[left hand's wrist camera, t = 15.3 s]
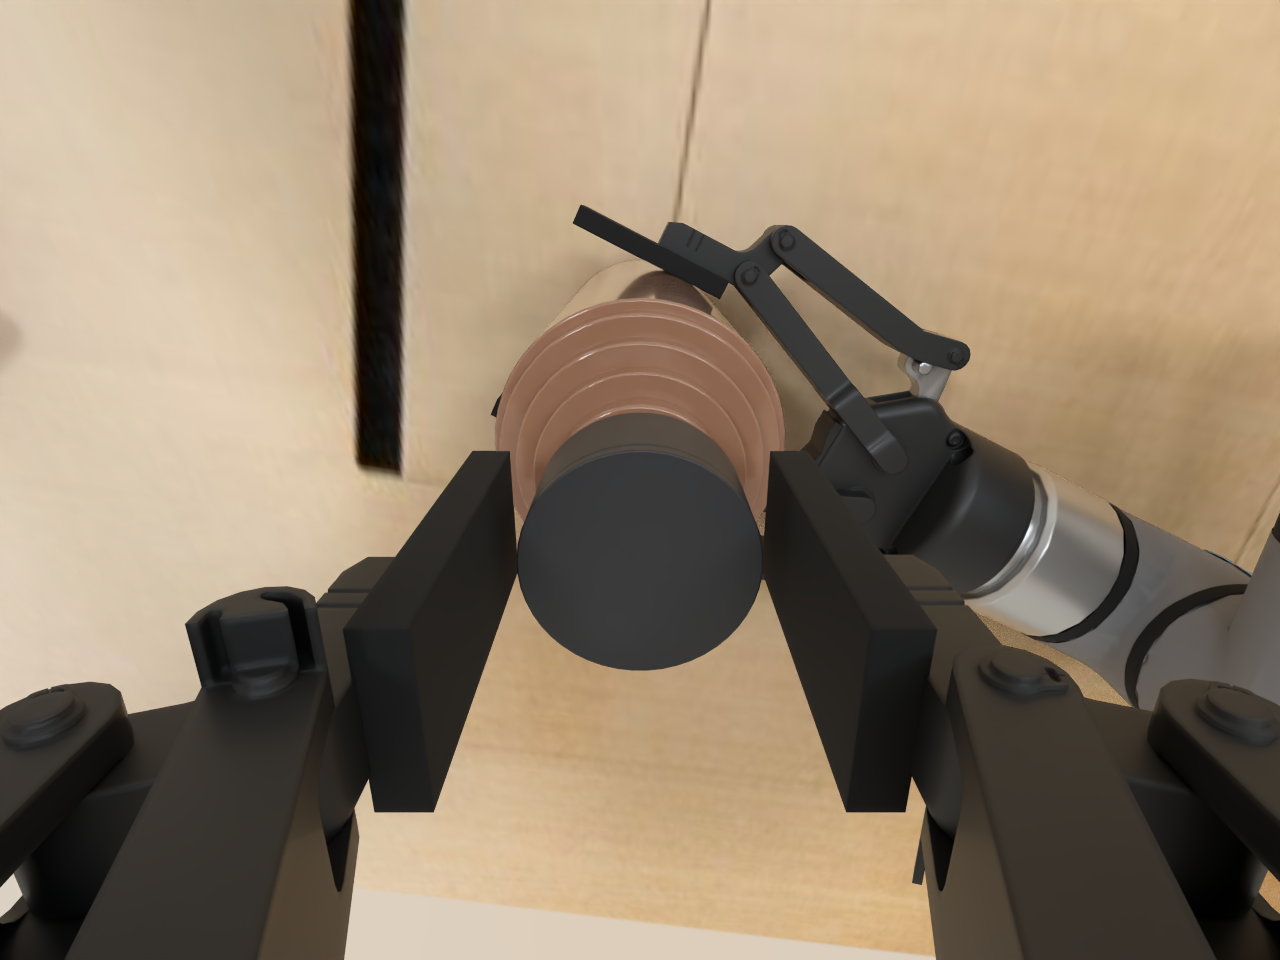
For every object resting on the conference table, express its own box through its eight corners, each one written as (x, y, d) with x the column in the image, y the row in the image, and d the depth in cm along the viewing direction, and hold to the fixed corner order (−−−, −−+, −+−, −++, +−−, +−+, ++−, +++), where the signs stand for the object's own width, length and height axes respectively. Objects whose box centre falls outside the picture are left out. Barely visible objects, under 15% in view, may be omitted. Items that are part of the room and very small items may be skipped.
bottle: (566, 411, 37) (445, 726, 14) (562, 259, 34) (402, 336, 11) (712, 413, 37) (830, 729, 14) (719, 260, 34) (881, 341, 11)
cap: (767, 570, 15) (790, 634, 13) (579, 624, 15) (567, 697, 13) (710, 382, 13) (724, 415, 11) (504, 449, 14) (477, 494, 12)
